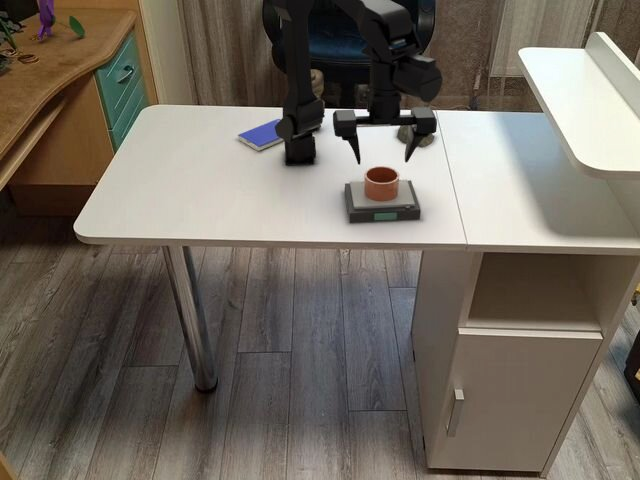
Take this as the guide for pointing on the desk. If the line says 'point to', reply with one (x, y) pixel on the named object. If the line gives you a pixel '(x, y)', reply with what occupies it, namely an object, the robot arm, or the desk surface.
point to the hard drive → (261, 136)
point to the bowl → (381, 183)
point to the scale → (381, 204)
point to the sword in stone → (403, 135)
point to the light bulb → (317, 84)
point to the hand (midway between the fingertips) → (382, 162)
